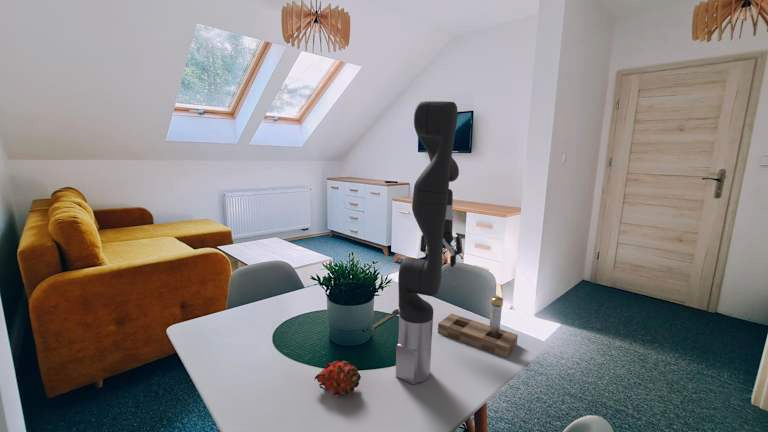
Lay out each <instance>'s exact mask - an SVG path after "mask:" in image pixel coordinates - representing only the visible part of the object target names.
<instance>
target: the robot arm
mask: <svg viewBox="0 0 768 432" xmlns="http://www.w3.org/2000/svg"><path fill="white" fill-rule="evenodd" d="M414 110H415V111H414V114H413V125H414V126H413V127H414V130H415V133H416V135H417V137H418V138H419V140H420V142H421V144H422V145H423V147H424V148H425V150H426V152H427V155H428V158H429V161H430V162H429V164H428V165H427V166H426V167H425V168H424V169H423V171H422V172H421V173H420V175H419V176H418V177H417V179H416V181H415V183H414V186H413V192H412V193H413V194H412V203H411V208H412V209H411V210H412V211H411V212H412V214H413V216H414V219H415V221H416V223H417V225H418V227H419V229H420V232H421V233H422V235H421V237H420V238H421V239H420V249H419V250H420V252H421V253H424V254H425V257H424V259H422V258H416V257H411V256H409V257H405V258H403V260H402V261H401V263H400V265H399V268H398V269H399V270H398V281H397V282H398V285H397V286H398V308H399V309H398V310H399V312H398V314H399V315H398V340H397V341H398V343H397V344H396V353H395V354H396V355H395V357H396V358H395V359H396V360H395V377H397V378H399V379H401V380H403V381H405V382H407V383H409V384H411V385H416V384H418V383H423V382H426V381H427V380H428V379H429V378H430V375H431V364H432V363H431V360H432V359H431V358H432V341H433V325H434V324H433V323H434V307H433V306H432V304H431V303H429V302H428V301H426V300H424V298H422V297H421V296H419V295H422V296H428V297H434V296H436V295H437V294H438V293H439V290H440V287H441V282H442V271H443V249H447V251H448V252H449V253H450V259H449V260H450V262H449V267H450V268H454V267H455V266H456V264H457V256H458V255H461V254H462V253H463V244H462V243H463V239H462V236H460V235H459V236H458V235H457V236H453V227H454V226H453V223H454V222H453V221H454V220H453V219H454V211H453V190H452V189H450V188H449V187H450V183H451V182H452V183H453V182H455V181H456V180H457V179H458V177H459V175H460V169H459V166H458V163H457V161H456V160H455V159H454V158H453V155H452V154H453V150H454V143H455V137H456V131H457V125H458V111H459V110H458V106H457V104H456V103H455V102H454V101H445V100H443V101H442V100H441V101H435V100H432V101H430V100H428V101H426V100H425V101H421V102H419V103H417V105H416V107H415V109H414ZM452 242H454V243H455V248H456V249H455V248H454V245H452Z"/></svg>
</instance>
